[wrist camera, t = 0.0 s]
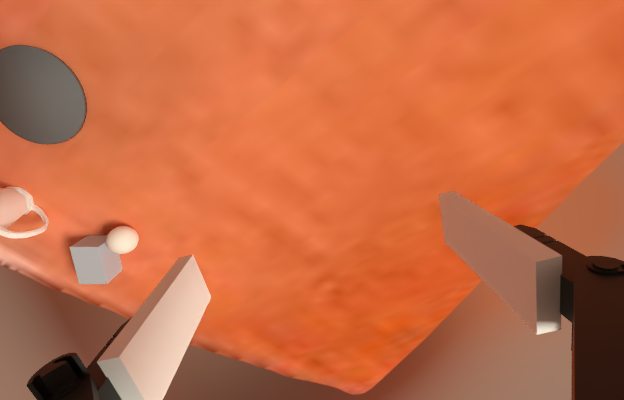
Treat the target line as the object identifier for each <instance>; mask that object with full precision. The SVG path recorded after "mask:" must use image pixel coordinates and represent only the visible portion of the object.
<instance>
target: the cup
mask: <svg viewBox="0 0 624 400" xmlns="http://www.w3.org/2000/svg"><path fill="white" fill-rule="evenodd" d="M31 210H33V211H35V212H36V213H38V214H39V215H40V217H41V218H42V220H43V222H44V226H43V227H41V228H38V229H35V230H31V231H27V232H12V231H9V230H7V229H6V228H7V227H9V226H10V225H12V224H13V223H14V222H15V221H17V220H18V219H19V218H20V217H21V216H22V215H26V214H28V213H29V212H30V211H31ZM48 224H49V219H48V217H47V216H46V214H45V213H44V211H43V210H42V209H41V208H40V207H38V206H36V205H34V202H33V197H32V195H30V194H29V193H28V192H27V191H26V190H24V189H23V188H22V187H12V186H9V187H7V188H0V235H1V236H5V237H9V238H27V237H31V236H34V235H37V234H40V233H42V232H44V231H45V230H46V229H47V228H48Z"/></svg>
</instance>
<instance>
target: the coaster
mask: <svg viewBox="0 0 624 400" xmlns="http://www.w3.org/2000/svg"><path fill="white" fill-rule="evenodd" d="M86 112H87V104H86V98H85V94H84V91H83V88H82V86H81V84H80V82H79V80H78V78H77V77H76V75H75V74H74V73H73V71H72V70H71V69H70V68H69V67H68V66H67V65H66V64H65V63H64V62H63V61H62V60H60V59H59V58H58V57H56V56H55V55H53V54H51V53H49V52H47V51H45V50H42V49H39V48H35V47H31V46H24V45H16V46H10V47H7V48H4V49H2V50H0V121H1V122H2V123H3V124H4V125H5V126H6V127H7V128H8V129H9V130H11V131H12V132H13V133H15V134H16V135H18V136H20V137H22V138H24V139H26V140H28V141H31V142H34V143H39V144H56V143H61V142H64V141H67V140H69V139H71V138H72V137H74V136H75V135H76V134H77V133H78V132H79V131H80V129H81V128H82V126H83V124H84V122H85V118H86Z"/></svg>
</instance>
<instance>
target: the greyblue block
mask: <svg viewBox="0 0 624 400" xmlns="http://www.w3.org/2000/svg"><path fill="white" fill-rule="evenodd" d="M106 238H107V235H88V236H86V237H85V238H83V239H81V240H80V241H78V242H77V243H75V244H73V245H72V246H70V251H71V255H72V259H73V262H74V266H75V270H76V274H77V277H78V281H79V284H108V283H109V282H110V281H111V280H112V279H113V278H114V277H115V276H116V275H118V274H119V273H120V272H121V271H122V270H123V269H122V264H121V260H120V255H119V254H118V253H114V252H112V251H111V250H110V249H109V248H108V246H107V244H106Z"/></svg>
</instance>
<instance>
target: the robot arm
mask: <svg viewBox="0 0 624 400" xmlns="http://www.w3.org/2000/svg"><path fill="white" fill-rule="evenodd" d="M439 200H440V208H441V216H442V225H443V233H444V241H445V243H446V244H447V245H448V246H449V247H450V248H451V249H452V250H453V251H454V252H455V253H456V254H457V255H458V256H459V257H460V258H461V259H462V260H463V261H464V262H465V263H466V264H467V265H468V266H469V267H470V268H471V269H472V270H473V271H474V272H475V273H476V274H477V275H478V276H479V277H480V278H481V279H482V280H483V281H484V282H485V283H486V284H487V285H488V286H489V287H490V288H491V289H492V290H493V291H494V292H495V293H496V294H497V295H498V296H499V297H500V298H501V299H502V300H503V301H504V302H505V303H506V304H507V305H508V306H509V307H510V308H511V309H512V310H513V311H514V312H515V313H516V314H517V315H518V316H519V317H520V318H521V319H522V320H523V321H524V322H525V323H526V324H527V325H528V326H529V327H530V328H531V329H532V330H533V331H534V332H535V333H536V334H542V333H546V332H551V331H556V330H560V329H561V314H562V315H563V316H564V317H566V318H567V319H568V320H569V321H571V322H572V347H571V350H572V400H624V261H621V260H618V259H615V258H610V257H604V256H588V257H586V256H585V255H583V254H581V253H579V252H577V251H575V250H574V249H572V248H570V247H568V246H566V245H565V244H563V243H561V242H559V241H556V240H555V239H553V238H552V237H550V236H547V235H546V234H545V233H543V232H541V231H539V230H537V229H535V228H532V227H528V226H524V225H517V226H512V225H510V224H508V223H507V222H505V221H503V220H502V219H500V218H498V217H497V216H495V215H493V214H492V213H490V212H488V211H487V210H485V209H483V208H482V207H480V206H478V205H477V204H475V203H473V202H472V201H470V200H468V199H467V198H465V197H463V196H462V195H460V194H458V193H457V192H455V191H451V192H447V193H443V194H439ZM210 299H211V295H210V293H209V291H208V288H207V286H206V284H205V281H204V279H203V277H202V274H201V272H200V270H199V267H198V265H197V263H196V261H195V258H194V256H193V255H189V256H185V257H181V258H179V259H178V260H177V261H176V263H175V264H174V265H173V266H172V268H171V269H170V270H169V271H168V273H167V274H166V275H165V276H164V278H163V279H162V280H161V282H160V283H159V284H158V285H157V287H156V288H155V289H154V290H153V292H152V293H151V294H150V295H149V297H148V298H147V299H146V300H145V302H144V303H143V304H142V305H141V307H140V308H139V309H138V310H137V312H136V313H135V314H134V316H133V317H131V318H130V319H129V320H128V321H127V322H125V323H124V324H123V325H122V326H121V327H120V328H119V329H118V330H117V332H116V333H115V334H114V335H113V338H111V339H110V340H109V341H108V343H107V344H106V346H105V347H104V348H103V349H102V350H101V351H100V353H99V354H98V355H97V356H96V357H95V359H94V360H93V361H92V362H91V364H90V365H89V366H88V367H87V368H86V367H85V366H84V364H83V363H82V361H81V360H80V358H79V357H78V355H77V354H76V353H68V354H65V355H62V356H60V357H58V358H56V359H54V360H52V361H51V362H49V363H48V364H46V365H45V366H43V367H42V368H41V369H40V370H39V371H37V372H36V373H35V374H34V375H33V376H32V377H31V379H30V380H29V381H28V384H27V387H28V388H29V390H30V391H31V392H32V393H33V395H34V396H35V397H36V399H37V400H163V398H164V396H165V394H166V391H167V389H168V387H169V385H170V383H171V381H172V379H173V377H174V375H175V373H176V370H177V368H178V366H179V364H180V362H181V360H182V358H183V356H184V354H185V351H186V349H187V347H188V345H189V343H190V341H191V339H192V337H193V335H194V332H195V330H196V328H197V326H198V324H199V322H200V320H201V318H202V316H203V313H204V311H205V309H206V307H207V305H208V303H209V301H210Z"/></svg>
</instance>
